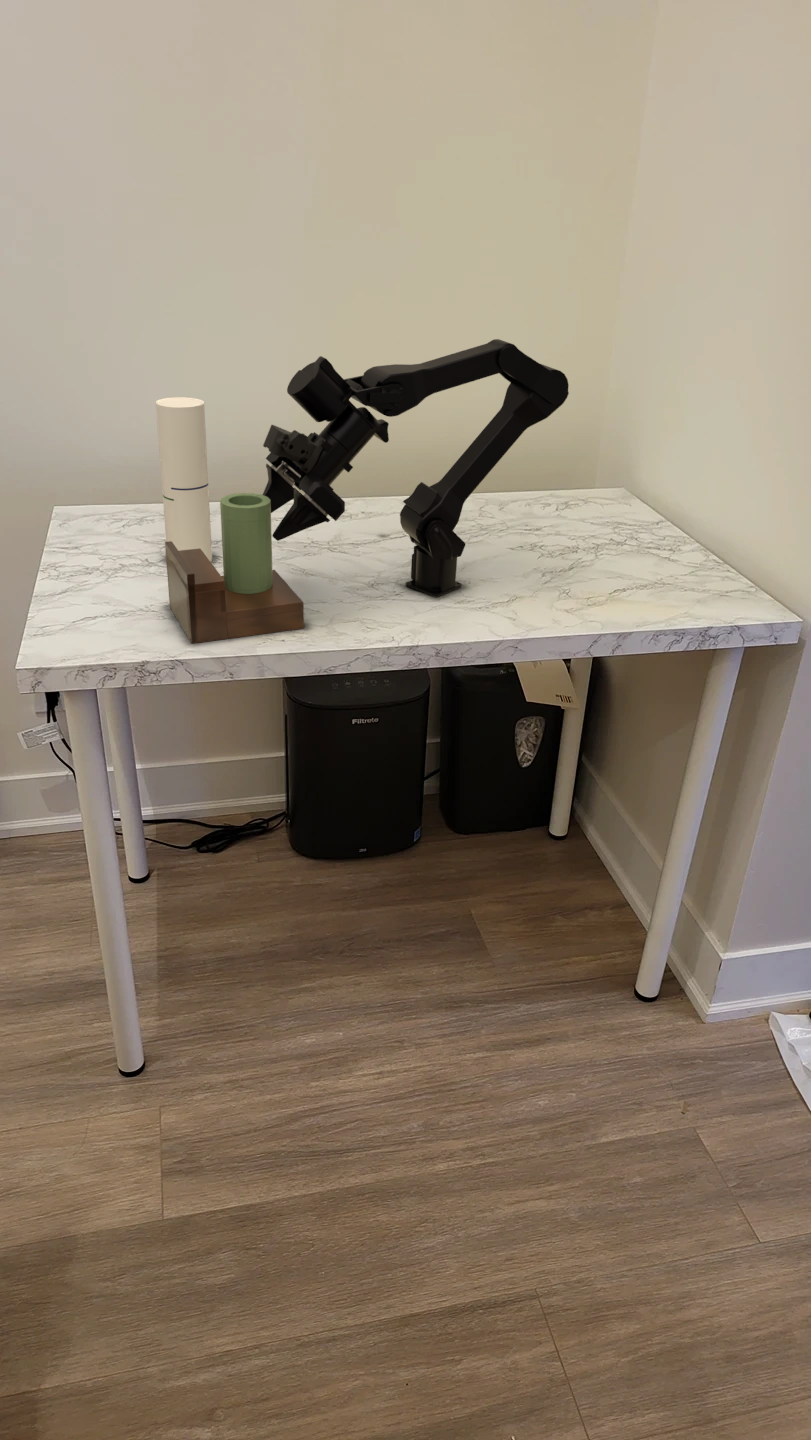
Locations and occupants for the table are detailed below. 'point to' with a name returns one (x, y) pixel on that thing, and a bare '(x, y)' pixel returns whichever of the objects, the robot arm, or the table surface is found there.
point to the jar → (246, 542)
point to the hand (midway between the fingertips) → (264, 528)
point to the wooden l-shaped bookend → (225, 601)
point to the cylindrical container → (184, 473)
